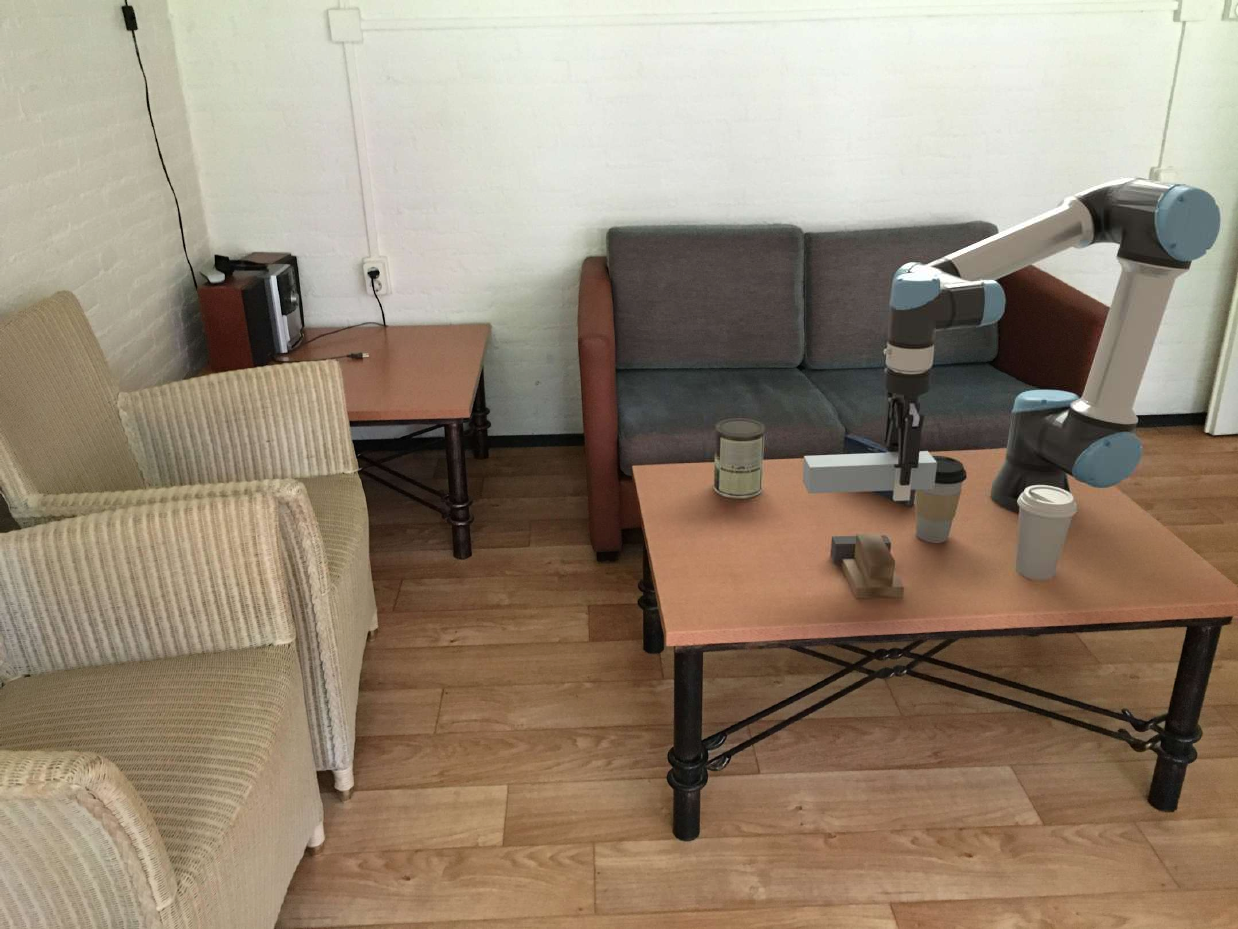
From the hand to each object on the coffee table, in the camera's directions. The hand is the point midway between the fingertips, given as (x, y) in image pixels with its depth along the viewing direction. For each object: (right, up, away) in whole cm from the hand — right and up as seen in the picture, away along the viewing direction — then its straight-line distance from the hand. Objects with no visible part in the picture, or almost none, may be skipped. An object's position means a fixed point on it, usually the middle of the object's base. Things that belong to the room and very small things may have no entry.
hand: (896, 492), depth 173 cm
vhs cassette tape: (+5, -1, +32) cm, 33 cm away
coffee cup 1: (+10, -9, +13) cm, 19 cm away
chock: (-5, -12, +5) cm, 14 cm away
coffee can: (-24, 0, +34) cm, 41 cm away
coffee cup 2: (+25, -14, +1) cm, 29 cm away
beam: (-5, +1, -1) cm, 6 cm away
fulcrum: (-5, -16, -3) cm, 17 cm away
